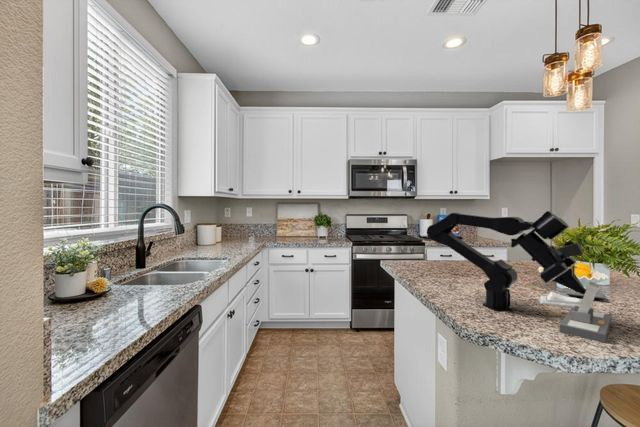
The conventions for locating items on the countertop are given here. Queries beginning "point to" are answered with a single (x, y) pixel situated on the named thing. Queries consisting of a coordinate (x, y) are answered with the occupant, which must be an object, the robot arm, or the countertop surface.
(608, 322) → the grey stand base
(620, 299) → the countertop surface
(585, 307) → the handle
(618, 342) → the countertop surface
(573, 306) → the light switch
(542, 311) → the countertop surface
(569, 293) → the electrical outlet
